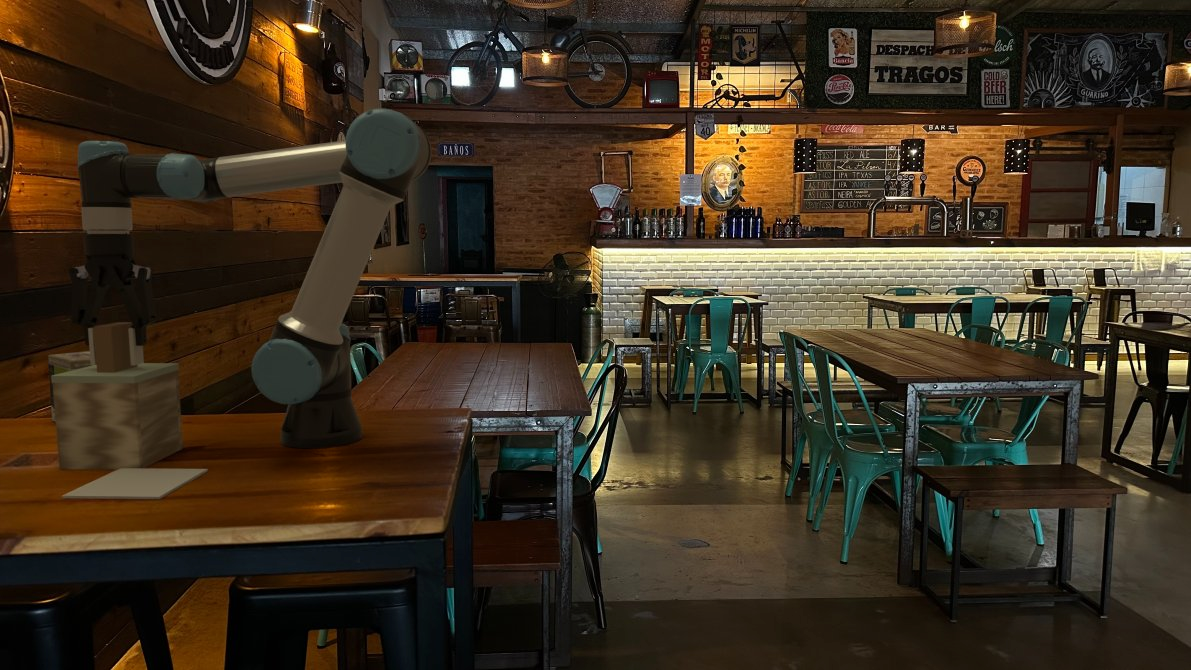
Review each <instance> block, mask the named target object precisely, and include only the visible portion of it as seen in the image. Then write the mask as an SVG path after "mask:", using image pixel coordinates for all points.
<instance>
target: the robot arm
mask: <svg viewBox="0 0 1191 670" xmlns="http://www.w3.org/2000/svg"><path fill="white" fill-rule="evenodd" d="M77 148H78V149H77V151H78V152H77V153H78V154H77V167H76V168H77V170H78V177H79V178H78V179H79V186H80V187H79V188H80V197H81V198H80V199H81V204H80V205H81V222H82V225H81V226H82V230H83V231H86V232H87V233H86V234H84V236H83V247H84V249H83V250H84V254H85V255H86V256H85V257H86V259H85V263H84V265H82V266H81V265H80V266H76V267H69V269H68V274H69V276H70V279H71V312H70V313H71V316H70V317H71V318H70V319H71V324H74V325H79V326H81V327H82V328H83V335H84V344H85V346H87V347H89V351H90V362H91V365H97V363H96V350H95V336H94V326H100V323H99V318H100V315H101V311H102V308H103V303H104V300H105V295H106V294H107V293H106V292H107V291H108V290H109V287H115V289H116V291H117V292H118V293H119V295H120V296H121V300H122V302H123V304H124V307H125V310H126V312H127V314H128V317H129V320H130V322H132V326H131V328H128V330H129V345H130V360H131V365H138V364H142V363H145V361H144V360H145V359H144V346H146V345H147V343H148V338H147V327H148V326H150V325H151V324H155V323H157V322H158V317H157V310H156V303H155V296H154V291H153V284H152V277H153V273H154V269H153V268H152V266H151V267H150V266H147V267H145V266H141V265H138V264H137V262H136V261H135V259H134V258H135V257H134V255H135V242H134V237H135V236H134V235H133V234H130V231H133V229H134V227H133V212H132V211H133V208H132V199H166V200H177V201H178V200H179V201H192V202H196V203H201V204H202V203H212V202H215V201H218V200H220V199H226V198H233V197H240V196H241V197H242V196H247V195H255V194H263V193H264V194H265V193H271V192H278V191H285V190H294V189H300V188H310V187H316V186H325V185H331V184H339V183H342V188H341V191H340V193H339V196H338V198H337V201H336V203H335V205H334V208H333V210H332V213H331V215H330V217H329V220H328V222H327V225H326V226H325V229H324V232H323V235H322V237H321V239H320V240H319V244H318V246H317V249H316V251H315V253H314V256H313V258H312V261H311V262H310V265H309V267H308V270H307V272H306V275H305V277H304V279H303V282H302V284H301V287H300V290H299V292H298V294H297V297H296V299H295V301H294V304H293V306H292V308H291V310H290V311H289V312H286V313H284V314H281V315H279V316H278V318H277V321H276V323H275V326H274V328H273V330H272V331H271V332H272V333H271V335H270V337H269V340H268V341H267V342H265V343H264V344H262V346H261V347H260V348H258V350H257V351H256V352H255V354H254V356H253V359H252V362H251V377H252V380H253V382H254V383H255V386H256V387H257V390H258V391H259V392H260V393H261V394H262V395H263V396H264V397H265V398H267V399H268V400H270V401H272V402H274V403H278V404H282V405H287V409H286V412H285V415H284V418H283V422H282V425H281V429H280V442H281V444H282V445H283V446H286V447H290V448H297V449H321V448H332V447H339V446H344V445H348V444H351V443H355V442H357V441H359V440H360V439H361V438H362V437H363V426H362V423H361V420H360V417H359V415H358V411H357V409H356V407H355V404H354V401H353V398H352V366H351V365H352V364H351V340H352V339H351V337H350V329H349V327H348V326H347V324H345V323H342V322H343V320H344V318H345V315H346V313H347V312H348V309H349V307H350V304H351V302H352V299H353V297H354V294H355V293H356V289H357V288H358V285H359V283H360V280H361V277H362V275H363V273H364V271H365V268H366V266H367V263H368V262H369V259H370V257H371V254H372V252H373V249H374V248H375V244H376V242H377V240H378V238H379V235H380V233H381V230H382V228H383V226H384V223H385V221H386V219H387V217H388V214H389V212H390V209H391V208H392V206H394V205H397V204H399V203H401V202H404V200H405V197H406V195H407V192H408V190H409V187H410V185H411V183H412V181H416V180H417V179H419V178H420V177H421V176H422V175H423V174H424V173H425V172H426V170H427V169H428V167H429V166H430V163H431V158H432V144H431V142H430V139H429V137H428V135H427V133H426V132H425V130H424V129H423V128H422V127H421V126H419V124H417V123H416V122H414V121H413V120H411V118H410V117H409V116H407V115H406V114H403V113H402V112H401V111H400V112H399V111H396V110H393V109H388V108H373V109H370V110H367V111H365V112H363V113H361V114H360V115H358V116H357V117H356V118H355V119H354V120H352V122H351V123H350V125H349V127H348V130H347V132H346V136H345V140H338V141H331V142H325V143H324V142H323V143H316V144H309V145H302V146H294V147H293V146H292V147H286V148H280V149H279V148H278V149H272V150H264V151H256V152H250V153H243V154H235V155H228V156H226V155H225V156H219V157H212V158H211V157H210V158H204V159H203V158H202V159H198V158H197V157H195V155H192V154H182V153H176V152H173V153H172V152H171V153H164V154H163V153H159V154H157V153H150V154H147V153H146V154H145V153H143V154H136V153H130V152H129V149H128V146H127V145H126V144H125V143H124V142H120V141H110V140H109V141H108V140H85V141H83V142H81V143H79V144H78V146H77ZM133 275H134V278H136V287H137V293H138V297H137V293H136V291H135V284H134V282H133V279H132V277H133ZM88 276H90V277H91V281H90V285H89V284H88ZM88 285H89V290H90V291H89V295H88Z"/></svg>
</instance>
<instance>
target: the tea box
mask: <svg viewBox="0 0 1191 670" xmlns="http://www.w3.org/2000/svg"><path fill="white" fill-rule="evenodd" d="M47 357H48V358H47V359H48V375H49V389H50V390H49V393H50V394H49V395H50V405H51V407H50V408H51V409H50V410H51V419H52V421H53V422H55V423H56V419H55V406H54V394H53V383H52V381H51V376H52V375H56V374H60V373H65V372H69V371H73V370H77V369H81V368H85V367H89V366H93V365H91V362H90V350H89V351H79V352H76V351H75V352H67V353H66V352H65V353H57V354H49V355H47Z"/></svg>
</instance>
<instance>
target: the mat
mask: <svg viewBox="0 0 1191 670" xmlns="http://www.w3.org/2000/svg"><path fill="white" fill-rule="evenodd" d="M207 472H209V469H208V468H147V467H145V468H120V469H118V470H114V471H112V472H109V473H108V474H106V475H103V476H100V477H99V478H97V479H95V480H93V481H91V482H89V483H86V484H84V485H81V486H80V487H78V488H75V489H74V490H72V491H71V490H70V491H69V492H67V493H64V494H63V495H61V499H84V500H85V499H90V500H91V499H96V500H98V499H99V500H100V499H101V500H102V499H103V500H104V499H105V500H106V499H107V500H161V499H162V498H164V497H166V496H167V495H169V494H171V493H172V492H175V491H176V490H178V489H180V488H181V487H183V486H185V485H187V484H188V483H190V482H192V481H193V480H195V479H197V478H199V477H200V476H203V475H204V474H206V473H207Z"/></svg>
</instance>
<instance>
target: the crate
mask: <svg viewBox="0 0 1191 670" xmlns="http://www.w3.org/2000/svg"><path fill="white" fill-rule="evenodd" d="M179 380H180V378H179V370H177V371H173V372H170V373H167V374H163V375H160V376H157V377H154V378H150V379H147V380H144V381H140V382H137V383H53V394H54V406H55V419H56V422H55V428H56V429H55V431H56V441H57V442H56V443H57V454H58V455H57V457H58V458H57V459H58V468H59V470H102V471H103V470H110V471H113V470H114V471H116V470H118V469H120V468H147V467H149V466H151V465H154V464H155V463H157V462H159V461H161V460H163V459H165V458H167V457H169V456H171V455H173V454H175V453H178V452H179V451H181V450H184V447H183V446H184V445H183V428H182V411H181V397H180V396H181V395H180V393H181V391H180V381H179Z"/></svg>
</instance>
